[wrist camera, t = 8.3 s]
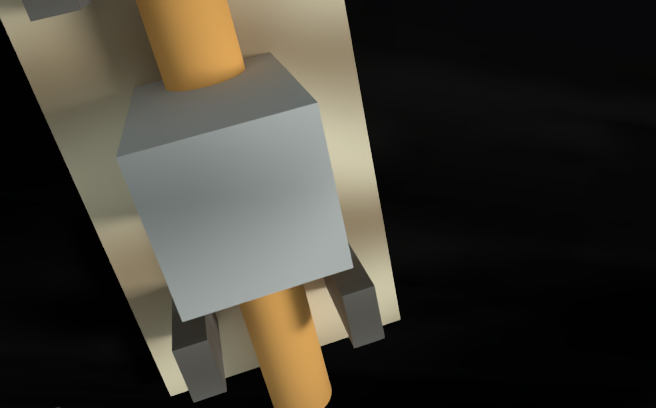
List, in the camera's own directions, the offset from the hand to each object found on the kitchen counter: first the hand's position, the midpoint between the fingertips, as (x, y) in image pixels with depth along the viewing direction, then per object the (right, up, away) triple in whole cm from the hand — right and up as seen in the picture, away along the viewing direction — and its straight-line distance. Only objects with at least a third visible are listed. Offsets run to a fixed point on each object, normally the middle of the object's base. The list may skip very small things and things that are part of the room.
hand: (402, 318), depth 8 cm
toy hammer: (-4, +4, +9) cm, 11 cm away
